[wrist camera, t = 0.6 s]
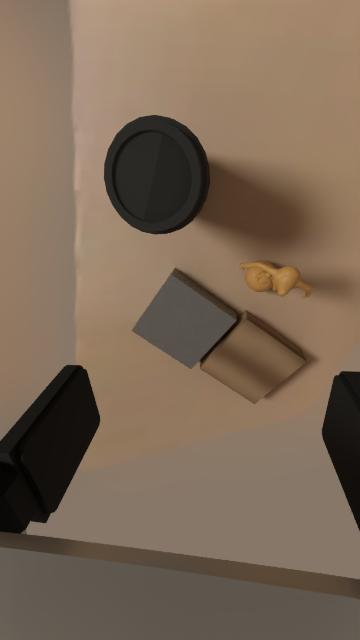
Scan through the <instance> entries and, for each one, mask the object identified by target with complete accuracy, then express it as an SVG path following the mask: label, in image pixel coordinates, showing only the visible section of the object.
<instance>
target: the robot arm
mask: <svg viewBox="0 0 360 640" xmlns="http://www.w3.org/2000/svg"><path fill="white" fill-rule="evenodd" d="M99 424H100V415H99V412H98V408H97V405H96V401H95V398H94V394H93V391H92V387H91V384H90V380H89V377H88V373H87V371H86V369H83V367H82V366H80V365H67V366H65V367H64V368H63V369H62V370H61V371H60V373H58V375H57V376H56V377H55V378H54V379H53V380H52V382H51V383H50V384H49V385H48V386H47V387H46V389H45V390H44V391H43V392H42V393H41V394H40V396H39V397H38V398H37V399H36V400H35V401H34V403H33V404H32V405H31V406H30V407H29V409H28V410H27V411H26V412H25V413H24V414H23V415H22V417H21V418H20V419H19V420H18V421H17V422H16V424H15V425H14V426H13V427H12V428H11V429H10V431H9V432H8V433H7V434H6V435H5V436H4V438H3V439H2V440H1V441H0V640H360V579H353V578H347V577H341V576H334V575H327V574H321V573H314V572H307V571H300V570H292V569H285V568H278V567H271V566H264V565H256V564H249V563H242V562H235V561H228V560H220V559H213V558H206V557H198V556H190V555H184V554H176V553H169V552H161V551H153V550H146V549H138V548H131V547H123V546H116V545H108V544H100V543H91V542H84V541H76V540H69V539H61V538H53V537H45V536H36V535H27V533H26V528H27V526H28V524H29V522H30V521H33V522H41V523H46V522H47V520H48V518H49V516H50V514H51V513H53V512H55V511H56V509H57V508H58V506H59V504H60V502H61V500H62V498H63V496H64V494H65V492H66V490H67V488H68V486H69V484H70V482H71V480H72V478H73V476H74V474H75V472H76V470H77V468H78V466H79V464H80V462H81V460H82V458H83V456H84V454H85V453H86V451H87V449H88V447H89V445H90V443H91V441H92V439H93V437H94V435H95V433H96V431H97V429H98V427H99ZM322 436H323V440H324V443H325V445H326V448H327V450H328V453H329V455H330V458H331V460H332V463H333V465H334V468H335V470H336V473H337V475H338V478H339V480H340V483H341V485H342V488H343V490H344V492H345V495H346V498H347V500H348V503H349V505H350V508H351V510H352V513H353V515H354V518H355V520H356V523H357V525H358V528H359V530H360V372H348V371H346V372H345V371H343V372H341V373H340V374H339V375H338V376H337V375H336V376H335V377H334V380H333V384H332V389H331V393H330V397H329V401H328V406H327V410H326V415H325V419H324V423H323V428H322Z"/></svg>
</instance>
